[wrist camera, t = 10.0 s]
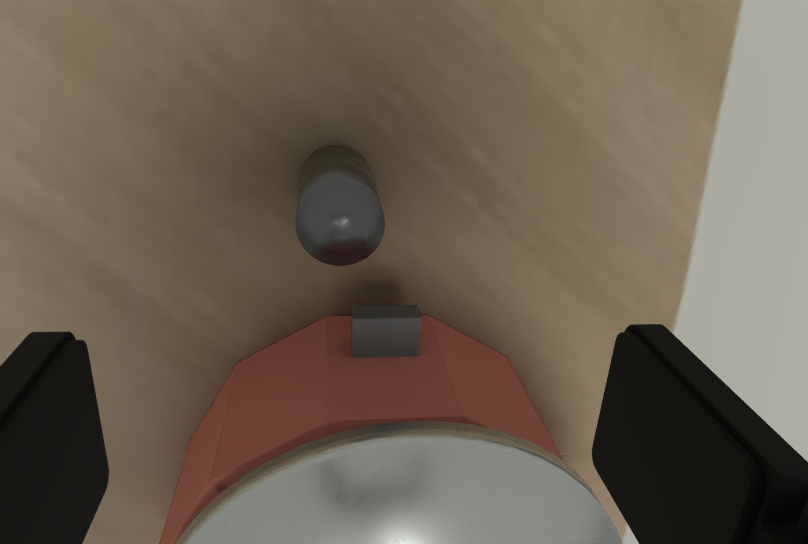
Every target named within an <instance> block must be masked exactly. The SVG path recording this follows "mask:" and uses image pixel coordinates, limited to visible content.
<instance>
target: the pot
mask: <svg viewBox="0 0 808 544" xmlns="http://www.w3.org/2000/svg"><path fill="white" fill-rule="evenodd" d="M405 421H446V422H454V423H463V424H472V425H478V426H482V427H486V428H490V429H494V430H499V431H503V432H506V433H509V434H512V435H514V436H517V437H519V438H522V439H524V440H527V441H530V442H532V443H534V444H536V445H538V446H539V447H541V448H543V449H545V450H547V451H548V452H550V453H552V454H554V455H556V456H557V457H558V458H560V459H561V460H562V461H563V459H562V457H561V455H560V454H559V452H558V450H557V448H556V446H555V444H554V442H553V441H552V439H551V437H550V435H549V433H548V431H547V429H546V428H545V426H544V424H543V422H542V420H541V418H540V417H539V415H538V413H537V411H536V409H535V407H534V405H533V404H532V402H531V400H530V398H529V396H528V394H527V392H526V391H525V389H524V387H523V385H522V383H521V381H520V380H519V378H518V376H517V374H516V372H515V370H514V368H513V367H512V365H511V363H510V361H509V359H508V357H507V356H504V355H502V354H500V353H499V352H497V351H495V350H493V349H491V348H489V347H487V346H485V345H484V344H482V343H480V342H478V341H476V340H474V339H472V338H470V337H469V336H467V335H465V334H463V333H461V332H459V331H457V330H455V329H454V328H452V327H450V326H448V325H446V324H444V323H442V322H440V321H439V320H437V319H435V318H433V317H431V316H429V315H420V312H419V309H418V306H417V305H376V306H351V316H326V317H324V318H322V319H320V320H318V321H316V322H314V323H312V324H310V325H308V326H307V327H305V328H303V329H301V330H299V331H297V332H295V333H293V334H291V335H289V336H287V337H286V338H284V339H282V340H280V341H278V342H276V343H274V344H272V345H270V346H268V347H266V348H264V349H263V350H261V351H259V352H257V353H255V354H253V355H251V356H249V357H247V358H245V359H243V360H242V361H240V362H238V363H237V364H236V366H235V367H234V369H233V371H232V372H231V374H230V376H229V377H228V379H227V380H226V382H225V384H224V385H223V387H222V389H221V390H220V392H219V393H218V395H217V397H216V398H215V400H214V402H213V403H212V405H211V406H210V408H209V410H208V411H207V413H206V415H205V416H204V418H203V419H202V421H201V423H200V424H199V426H198V428H197V429H196V431H195V432H194V434H193V436H192V437H191V441H190V444H189V447H188V450H187V454H186V457H185V460H184V464H183V467H182V470H181V474H180V477H179V480H178V484H177V487H176V490H175V494H174V497H173V500H172V504H171V507H170V510H169V513H168V517H167V520H166V523H165V527H164V530H163V533H162V537H161V540H160V543H159V544H175V543H176V542H177V540H178V539H179V538H180V536H181V535H182V534H183V532H184V531H185V530H186V528H187V527H188V526H189V524H190V523H191V522H192V520H193V519H194V518H195V517H196V516H197V515H198V514H199V513H200V512H201V511H202V510H203V509H204V508H205V507H206V506H207V505H208V504H209V503H210V502H211V501H212V500H213V499H214V498H215V497H216V496H217V495H219V494H220V493H221V492H223V491H224V490H225V489H226V488H228V487H229V486H230V485H232V484H233V483H234V482H235V481H237V480H238V479H239V478H241V477H242V476H244V475H245V474H247V473H249V472H250V471H252V470H254V469H255V468H257V467H259V466H260V465H262V464H264V463H265V462H267V461H269V460H270V459H272V458H274V457H277V456H279V455H281V454H283V453H285V452H287V451H290V450H292V449H294V448H296V447H298V446H301V445H303V444H305V443H308V442H311V441H314V440H317V439H320V438H323V437H326V436H329V435H333V434H336V433H339V432H343V431H348V430H353V429H357V428H362V427H366V426H371V425H378V424H387V423H396V422H405ZM563 462H564V461H563Z"/></svg>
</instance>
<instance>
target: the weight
mask: <svg viewBox="0 0 808 544" xmlns="http://www.w3.org/2000/svg"><path fill="white" fill-rule="evenodd" d="M384 228H385V219H384V213H383V210H382V207H381V204H380V201H379V197H378V194H377V191H376V188H375V185H374V181H373V178H372V175H371V172H370V169H369V166H368V164H367V162H366V161H365V159H364V158H363V157H362V156H361V155H360V154H359V153H358V152H356V151H355V150H353V149H351V148H349V147H346V146H342V145H330V146H325V147H322V148H320V149H318V150H317V151H315V152H314V153H313V154H311V155H310V157H309V158H308V159H307V160H306V162H305V164H304V166H303V169H302V173H301V180H300V189H299V197H298V206H297V214H296V231H297V235H298V238H299V241H300V242H301V244H302V246H303V247H304V249H305V250H306V251H307V252H308V253H309V254H310V255H311V256H313V257H314V258H315V259H317V260H319V261H321V262H323V263H326V264H330V265H337V266H343V265H350V264H354V263H357V262H359V261H362V260H363V259H365V258H367V257H368V256H369V255H370V254H371V253H372V252H373V251H374V250H375V249H376V248H377V246H378V245H379V243H380V241H381V239H382V237H383V233H384Z"/></svg>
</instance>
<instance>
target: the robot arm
mask: <svg viewBox="0 0 808 544" xmlns="http://www.w3.org/2000/svg"><path fill="white" fill-rule="evenodd" d="M592 459H593V463H594V466H595V468H596V470H597V472H598V474H599V476H600V477H601V479H602V481H603V482H604V484H605V486H606V488H607V489H608V491H609V493H610V494H611V496H612V498H613V500H614V501H615V503H616V505H617V506H618V508H619V510H620V511H621V513H622V515H623V517H624V518H625V520H626V522H627V523H628V525H629V527H630V528H631V530H632V532H633V534H634V535H635V537H636V539H637V541H638V542H639V544H808V462H807V461H806V460H805V459H804V458H803V457H802V456H801V455H800V454H798V453H797V452H796V451H795V450H794V449H793V448H792V447H791V446H790V445H789V444H788V443H787V442H786V441H785V440H784V439H783V438H782V437H781V436H780V435H778V434H777V433H776V432H775V431H774V430H773V429H772V428H771V427H770V426H769V425H768V424H767V423H766V422H765V421H764V420H763V419H762V418H761V417H760V416H758V415H757V414H756V413H755V412H754V411H753V410H752V409H751V408H750V407H749V406H748V405H747V404H746V403H745V402H744V401H743V400H742V399H741V398H740V397H738V396H737V395H736V394H735V393H734V392H733V391H732V390H731V389H730V388H729V387H728V386H727V385H726V384H725V383H724V382H723V381H722V380H721V379H719V377H717V376H716V375H715V374H714V373H713V372H712V371H711V370H710V369H709V368H708V367H707V366H706V365H705V364H704V363H703V362H702V361H701V360H700V359H699V358H697V357H696V356H695V355H694V354H693V353H692V352H691V351H690V350H689V349H688V348H687V347H686V346H685V345H684V344H683V343H682V342H681V341H680V340H679V339H677V338H676V337H675V336H674V335H673V334H672V333H671V332H670V331H669V330H668V329H667V328H666V327H665V326H663V325H661V324H644V325H630V326H628V327H627V329H626V330H625V332H621V333H619V334H618V336H617V338H616V341H615V346H614V350H613V355H612V359H611V364H610V369H609V373H608V378H607V382H606V387H605V392H604V396H603V401H602V405H601V410H600V414H599V419H598V424H597V428H596V433H595V437H594V442H593V447H592ZM108 477H109V468H108V461H107V456H106V450H105V445H104V439H103V433H102V428H101V422H100V416H99V411H98V405H97V399H96V394H95V388H94V382H93V377H92V371H91V365H90V360H89V354H88V349H87V345H86V343H85V341H83V340H76V339H75V337H74V335H73V334H72V333H71V332H32V333H30V334H29V335H28V336H27V337H26V338H25V339H24V340H23V341H22V343H21V344H20V345H19V346H18V347H17V348H16V349H15V350H14V352H13V353H12V354H11V355H10V356H9V357H8V358H7V359H6V361H5V362H4V363H3V364H2V365H1V366H0V544H82V543H83V541H84V538H85V536H86V534H87V532H88V529H89V527H90V525H91V523H92V520H93V518H94V516H95V514H96V511H97V509H98V507H99V505H100V502H101V500H102V498H103V495H104V493H105V491H106V488H107V484H108Z"/></svg>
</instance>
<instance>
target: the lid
mask: <svg viewBox="0 0 808 544" xmlns="http://www.w3.org/2000/svg"><path fill="white" fill-rule="evenodd" d="M175 544H622V541H621V539H620V536H619V533H618V531H617V529H616V528H615V526H614V524H613V523H612V521H611V519H610V518H609V516H608V515H607V513H606V511H605V510H604V508H603V506H602V505H601V503H600V501H599V500H598V498H597V497H596V495H595V493H594V492H593V490H592V489H591V488H590V486H589V485H588V484H587V483H586V482H585V481H584V480H583V479H582V478H581V476H580V475H579V474H578V473H577V472H576V471H575V470H574V469H572V468H571V467H570V466H568V465H567V464H566V463H565V462H563V461H562V460H561V459H560V458H558V457H557V456H556V455H554V454H552V453H550V452H548V451H547V450H545V449H543V448H541V447H539V446H538V445H536V444H534V443H532V442H530V441H527V440H524V439H522V438H519V437H517V436H514V435H512V434H509V433H506V432H503V431H499V430H494V429H490V428H486V427H482V426H478V425H472V424H463V423H454V422H446V421H405V422H396V423H387V424H378V425H371V426H366V427H362V428H357V429H353V430H348V431H343V432H339V433H336V434H333V435H329V436H326V437H323V438H320V439H317V440H314V441H311V442H308V443H305V444H303V445H301V446H298V447H296V448H294V449H292V450H290V451H287V452H285V453H283V454H281V455H279V456H277V457H274V458H272V459H270V460H269V461H267V462H265V463H264V464H262V465H260V466H259V467H257V468H255V469H254V470H252V471H250V472H249V473H247V474H245V475H244V476H242V477H241V478H239V479H238V480H237V481H235V482H234V483H233V484H232V485H230V486H229V487H228V488H226V489H225V490H224V491H223V492H221V493H220V494H219V495H217V496H216V497H215V498H214V499H213V500H212V501H211V502H210V503H209V504H208V505H207V506H206V507H205V508H204V509H203V510H202V511H201V512H200V513H199V514H198V515H197V516H196V517H195V518H194V519H193V520H192V522H191V523H190V524H189V526H188V527H187V528H186V530H185V531H184V532H183V534H182V535H181V536H180V538H179V539H178V540H177V542H176V543H175Z"/></svg>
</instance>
